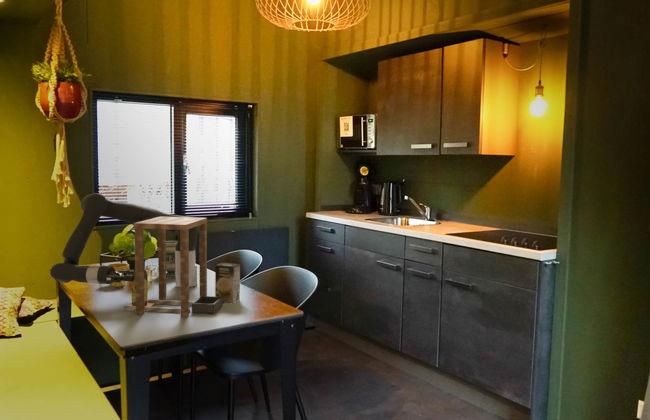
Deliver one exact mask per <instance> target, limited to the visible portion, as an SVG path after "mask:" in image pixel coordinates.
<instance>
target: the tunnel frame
mask: <svg viewBox="0 0 650 420" xmlns="http://www.w3.org/2000/svg"><path fill="white" fill-rule="evenodd" d="M207 225H208V217H191V216H190V217H189V216H186V217H161V216H160V217H156V218H153V219H149V220H145V221H141V222H137V223H134V224H133V227H134V228H133V229H134V270H135V291H136V306H129V305H124V306H123V310H124V311H135V316H143V315H145V312H157V313H158V312H159V313H177V314H178V313H180V318H186V319H188V317H190V314H191V308H190V306H191V307H192V303H193V302H194V301H195V300H194V301H193V300H190V292H189V291H190V287H189V229H190V228H193V227H196V226H197V227H198V229H199V234H198V235H199V237H198V239H199V240H198V241H199V246H198V247H199V248H198V249H199V263H198V264H199V298H200V297H201V296H208V272H207V271H208V262H207V261H208V259H207V258H208V255H207V254H208V252H207V251H208V239H207V238H208V232H207V231H208V226H207ZM145 229H147V230H157V250H158V251H157V252H158V261H157V262H158V267H157V268H158V269H157V270H158V299H151V298H150V299H149V298H147V303H156V304H155V305H173V306H180V308H179V307H161V306H159V307H157V306H151V307H144V256H145V253H144V249H145V248H144V247H145V246H144V230H145ZM166 229H170V230H180V282H181V287H180V300H171V299H167V278H166V273H167V272H166V241H167V240H166V239H167V238H166V237H167V232H166V231H167V230H166Z"/></svg>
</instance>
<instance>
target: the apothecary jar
mask: <svg viewBox="0 0 650 420" xmlns="http://www.w3.org/2000/svg"><path fill="white" fill-rule="evenodd" d="M177 242H178V240H166V279H176V275H175V245H176V244H177Z"/></svg>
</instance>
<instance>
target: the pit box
mask: <svg viewBox="0 0 650 420" xmlns="http://www.w3.org/2000/svg"><path fill="white" fill-rule="evenodd" d="M223 305H224V304H223V297H215V295H214V296H210V295H207V296H201V297H200V296H199V297H198V298H197V299H195V300H194V302H193V303H192V306H191V314H196V315H197V314H200V315H215V314H216V313H217V312H218V311H219V310H220V309H222V308H223Z"/></svg>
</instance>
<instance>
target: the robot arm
mask: <svg viewBox="0 0 650 420" xmlns="http://www.w3.org/2000/svg"><path fill="white" fill-rule="evenodd" d="M80 206H81V207H80V208H81V209H82V211H83V213H82V216H81V218H80V220H79V222H78V224H77V225H76V227H75V229H74V230H73V232H72V233H71V235H70V236H69V238H68V240H67V243H66V244H65V246H64V249H63V251H62V253H61V254H62V257H63V258H64V260H63V262H60V263H59V262H58V263H56V264H53V265H52V267H51V268H50V271H49V275H50V276H51V278H52V279H53V280H56V281H59V282H60V283H64V284H68V283H70V282H72V281H75V282H78V283H84V284H85V283H87V284H88V283H89V284H94V285H95V284H96V285H97V284H98V285H110V284H112V283H113V282H118V283H120V282H124V281H126V282H132V281H134V276H132V274H133V272H134V270H135V268H133V269H130V268H129V269H121V270H117V271H115V269H114V267H113V266H106V265H99V264H98V265H96V264H95V265H83V264H82V265H79V263H80V258H81V257H82V254H83V252H84V249H85V247H86V246H87V243H88V240H89V238H90V236H91V234H92V232H93V229H94V228H95V227H96V225H97V223H98V221H99V219H100V218H101V217H103V218H104V217H105V218H112V219H116V220H117V221H121V222H124V223H127V224H130V225H131V224H132V225H134V223H137V222H141V221H145V220H149V219H153V218H156V217H160V216H161V217H187V216H185V215H177V214H170V213H165V212H164V211H163V212H162V211H160V210H159V209H156V208H153V207H150V206H146V205H141V204H137V203H128V202H117V201H113V200H110V199H107V198H106V196H105V195H103V194H102V193H97V192H95V193H91V194H88V195H86V196H84V197H83V198H82V200H81V201H80ZM166 231H169V232H172V233H175V234H177V241H178V242H177V244H176V245H175V275H176V278H175V281H174V282H175V287H177V288H181V282H180V230H170V229H166ZM197 241H198V226H196V227H193V228H190V229H189V288H191V287H194V286H197V285H198V266H197V265H196V245H197Z"/></svg>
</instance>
